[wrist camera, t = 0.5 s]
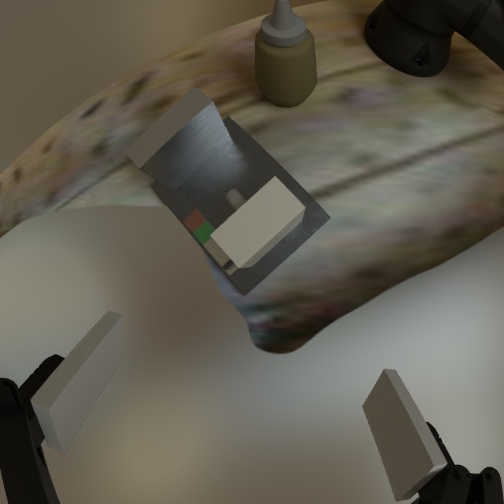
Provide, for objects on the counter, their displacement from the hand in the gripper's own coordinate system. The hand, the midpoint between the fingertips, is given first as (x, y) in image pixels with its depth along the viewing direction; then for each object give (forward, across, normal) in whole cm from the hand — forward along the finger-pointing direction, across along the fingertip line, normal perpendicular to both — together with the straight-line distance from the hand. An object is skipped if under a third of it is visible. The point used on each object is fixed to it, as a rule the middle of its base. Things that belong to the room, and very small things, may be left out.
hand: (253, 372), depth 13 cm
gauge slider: (+24, -1, +2) cm, 24 cm away
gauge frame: (+27, -4, +4) cm, 28 cm away
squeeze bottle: (+32, -1, +21) cm, 38 cm away
